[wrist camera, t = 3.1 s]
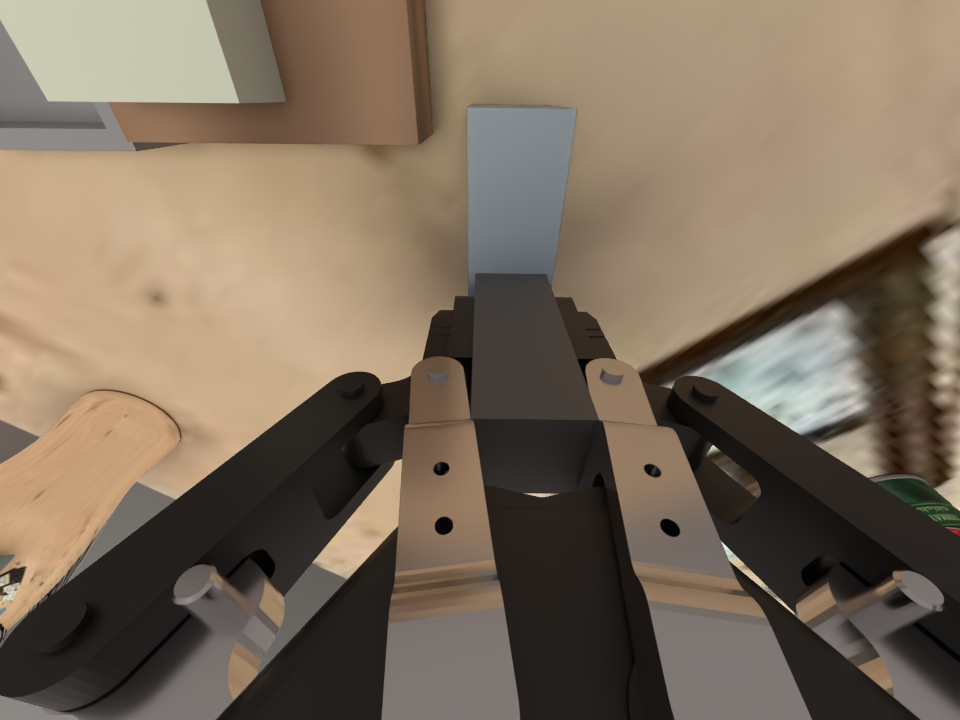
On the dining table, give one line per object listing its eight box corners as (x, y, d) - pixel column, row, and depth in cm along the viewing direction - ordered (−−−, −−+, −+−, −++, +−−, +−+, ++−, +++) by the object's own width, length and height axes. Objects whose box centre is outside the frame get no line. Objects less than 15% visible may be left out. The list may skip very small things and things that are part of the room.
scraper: (548, 105, 14) (711, 127, 4) (522, 356, 21) (558, 579, 11) (471, 104, 14) (446, 123, 4) (472, 355, 21) (463, 578, 11)
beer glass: (175, 396, 23) (-163, 729, 11) (197, 461, 27) (-33, 755, 15) (52, 374, 22) (-477, 716, 10) (93, 445, 26) (-244, 748, 14)
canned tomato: (913, 459, 26) (1128, 641, 18) (935, 499, 30) (1128, 670, 21) (799, 503, 30) (932, 671, 21) (830, 534, 33) (956, 692, 24)
